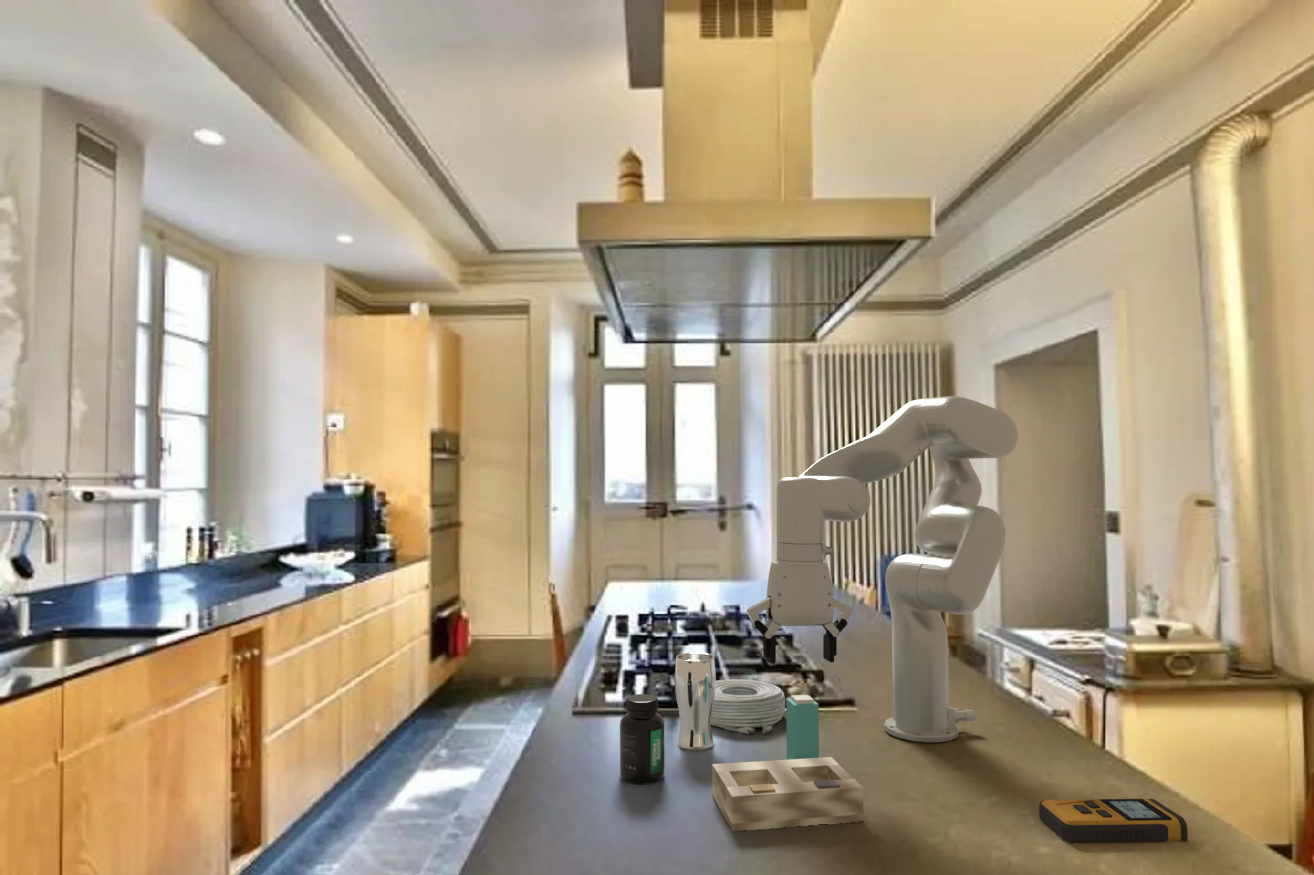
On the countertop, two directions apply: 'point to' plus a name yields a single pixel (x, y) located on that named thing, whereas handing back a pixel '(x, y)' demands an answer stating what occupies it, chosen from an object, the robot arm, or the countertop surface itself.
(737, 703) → the cable
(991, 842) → the countertop surface
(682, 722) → the beer glass
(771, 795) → the socket block
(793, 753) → the plug
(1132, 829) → the electronic device
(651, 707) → the supplement bottle
